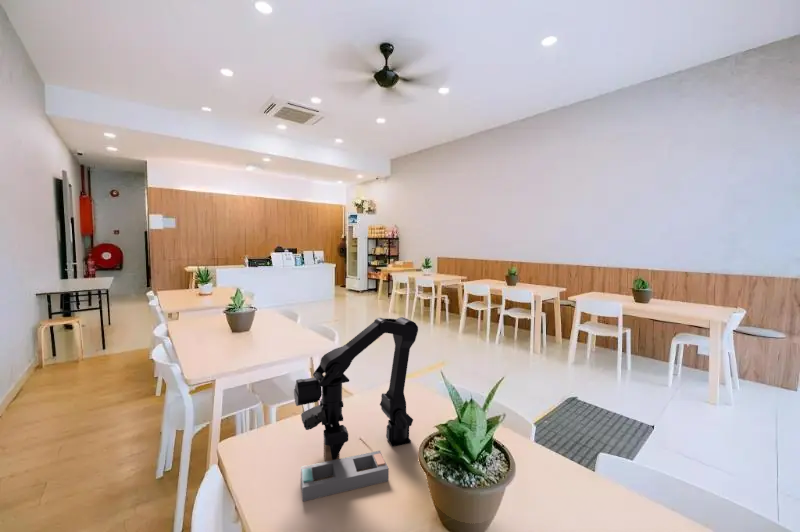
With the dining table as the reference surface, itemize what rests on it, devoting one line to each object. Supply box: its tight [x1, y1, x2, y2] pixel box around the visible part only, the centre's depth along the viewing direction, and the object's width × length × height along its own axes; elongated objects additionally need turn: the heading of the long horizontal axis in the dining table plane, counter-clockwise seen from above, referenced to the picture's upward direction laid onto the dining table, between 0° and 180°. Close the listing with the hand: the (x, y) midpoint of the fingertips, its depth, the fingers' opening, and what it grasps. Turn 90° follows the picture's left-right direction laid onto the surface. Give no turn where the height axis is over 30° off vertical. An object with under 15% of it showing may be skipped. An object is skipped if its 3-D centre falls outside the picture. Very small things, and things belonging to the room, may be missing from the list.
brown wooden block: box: [323, 441, 341, 462], centre depth 96 cm, size 4×4×8 cm
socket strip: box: [300, 450, 390, 502], centre depth 88 cm, size 22×8×4 cm, turn 110°
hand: (331, 449), depth 97 cm, fingers open, 9 cm apart
